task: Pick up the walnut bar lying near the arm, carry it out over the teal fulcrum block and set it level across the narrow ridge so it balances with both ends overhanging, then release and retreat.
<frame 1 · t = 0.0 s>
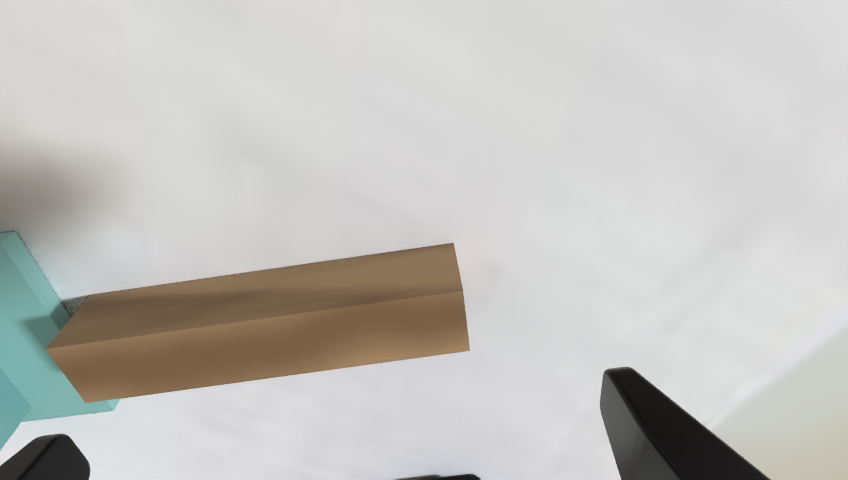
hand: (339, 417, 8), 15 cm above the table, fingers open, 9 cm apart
walnut bar: (281, 293, 26), on the table
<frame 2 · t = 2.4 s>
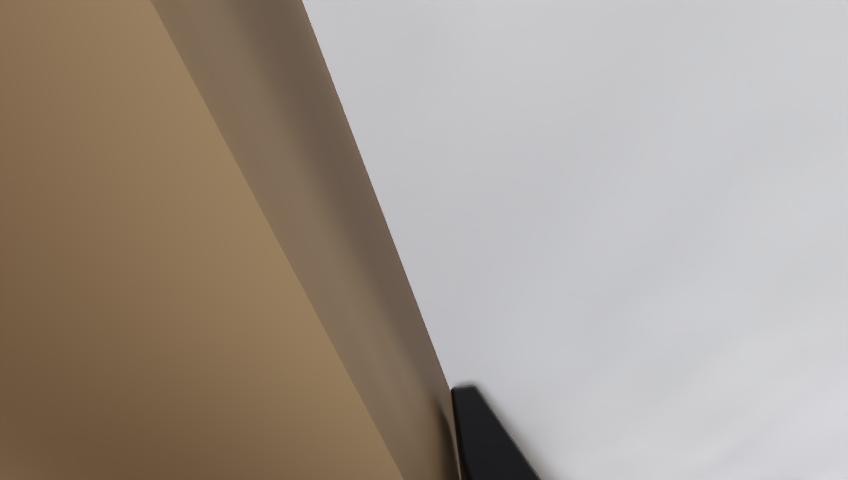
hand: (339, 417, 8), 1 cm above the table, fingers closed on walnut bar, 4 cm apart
walnut bar: (343, 364, 10), on the table, touching gripper
when the fingers open (8 cm above the table, at t = 5.4 s): walnut bar stays where it is, resting on fulcrum block.
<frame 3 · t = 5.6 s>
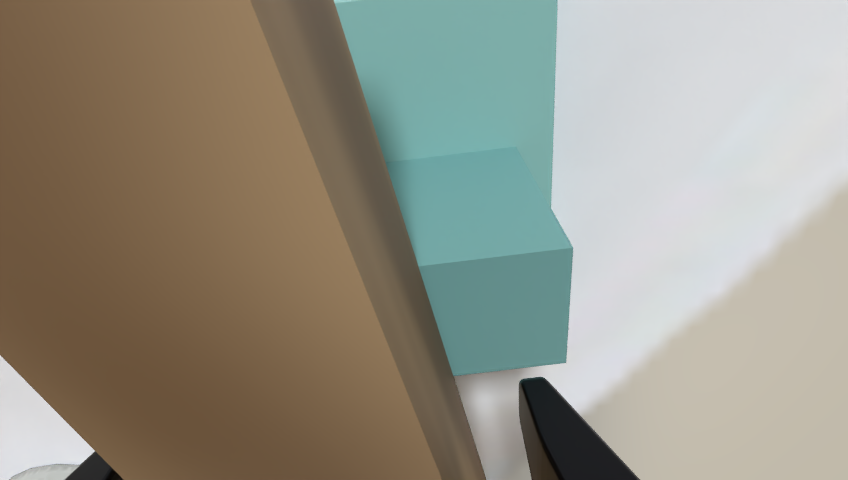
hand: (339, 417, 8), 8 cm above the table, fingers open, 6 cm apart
fulcrum block: (361, 198, 15), on the table
walnut bar: (350, 335, 10), point 6 cm above the table, touching fulcrum block
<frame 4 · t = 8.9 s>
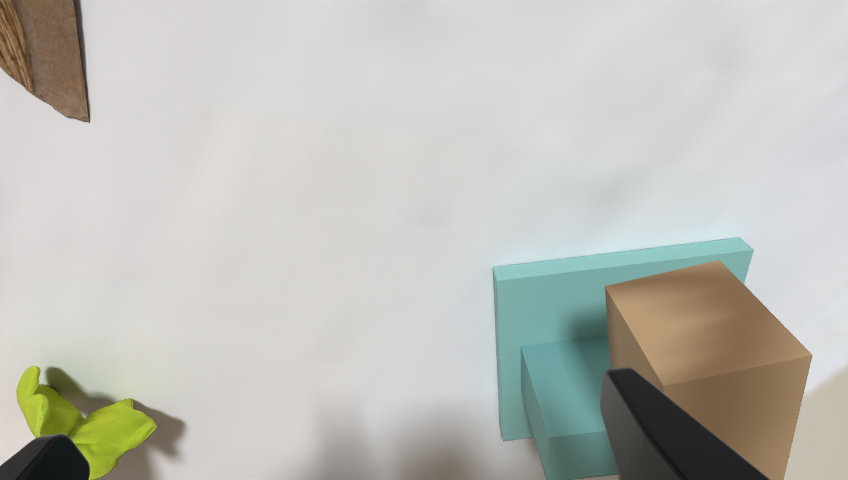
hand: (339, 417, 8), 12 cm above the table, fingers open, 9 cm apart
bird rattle: (87, 414, 26), on the table
fulcrum block: (605, 342, 25), on the table
walnut bar: (660, 447, 20), point 6 cm above the table, touching fulcrum block
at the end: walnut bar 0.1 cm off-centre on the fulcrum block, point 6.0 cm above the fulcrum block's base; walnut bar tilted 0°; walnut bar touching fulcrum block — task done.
